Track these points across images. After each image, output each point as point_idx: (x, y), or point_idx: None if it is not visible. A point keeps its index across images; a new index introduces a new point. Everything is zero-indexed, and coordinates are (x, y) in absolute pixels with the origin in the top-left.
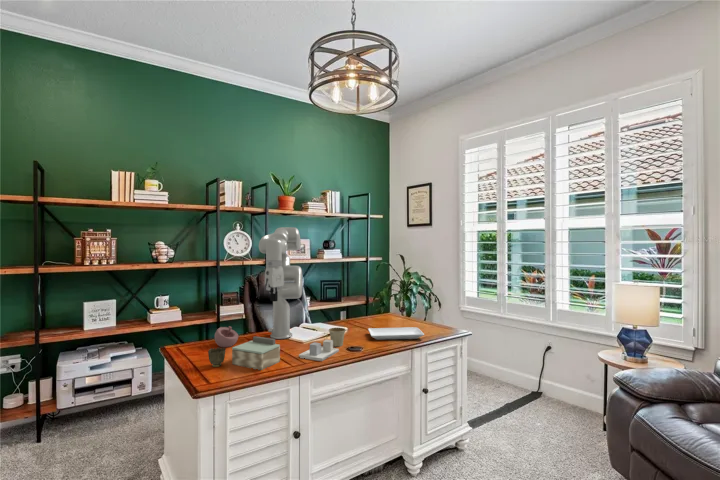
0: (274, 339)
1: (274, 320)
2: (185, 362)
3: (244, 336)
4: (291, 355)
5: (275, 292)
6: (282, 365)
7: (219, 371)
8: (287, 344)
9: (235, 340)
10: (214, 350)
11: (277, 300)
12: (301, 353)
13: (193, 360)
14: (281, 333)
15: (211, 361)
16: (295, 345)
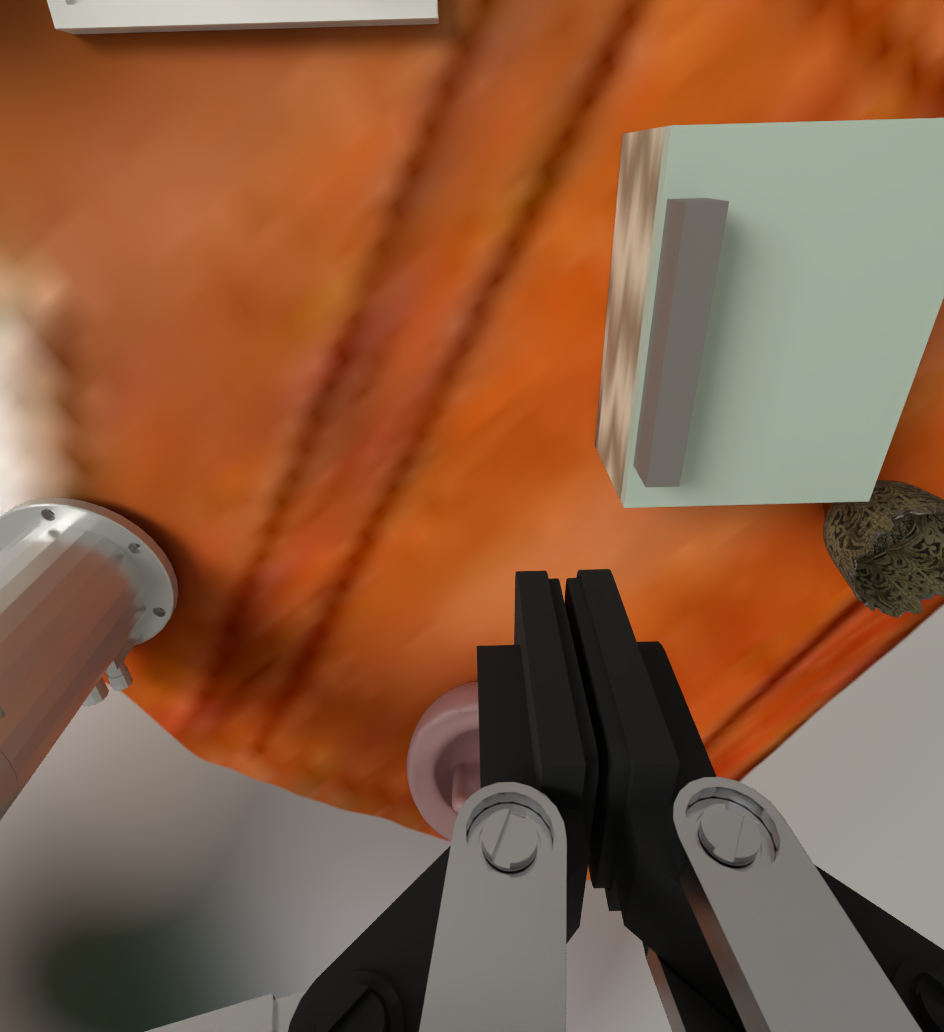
0: (702, 202)
1: (79, 697)
2: (797, 687)
3: (249, 761)
4: (416, 158)
5: (581, 838)
6: (707, 28)
7: (928, 425)
8: (187, 414)
9: (477, 691)
10: (866, 596)
11: (519, 574)
12: (387, 17)
13: (757, 679)
14: (106, 563)
15: (927, 523)
16: (160, 331)
